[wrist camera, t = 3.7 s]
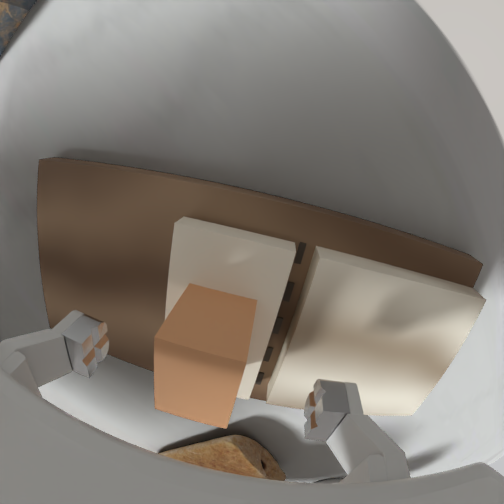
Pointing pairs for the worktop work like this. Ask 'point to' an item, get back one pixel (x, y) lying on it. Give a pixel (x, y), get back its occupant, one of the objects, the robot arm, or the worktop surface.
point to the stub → (217, 317)
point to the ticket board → (296, 292)
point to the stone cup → (230, 457)
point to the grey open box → (12, 18)
